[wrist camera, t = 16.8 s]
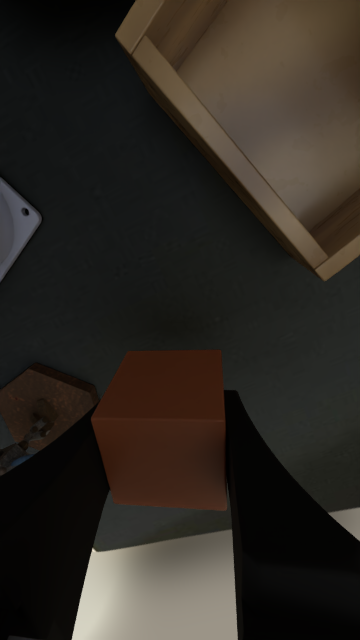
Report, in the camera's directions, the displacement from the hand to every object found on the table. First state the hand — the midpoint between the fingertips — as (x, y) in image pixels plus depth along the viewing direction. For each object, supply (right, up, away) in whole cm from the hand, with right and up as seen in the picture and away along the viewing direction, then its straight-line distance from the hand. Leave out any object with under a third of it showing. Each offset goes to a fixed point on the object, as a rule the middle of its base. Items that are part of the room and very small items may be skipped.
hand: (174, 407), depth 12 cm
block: (0, +1, +1) cm, 1 cm away
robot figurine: (-11, -4, +13) cm, 18 cm away
